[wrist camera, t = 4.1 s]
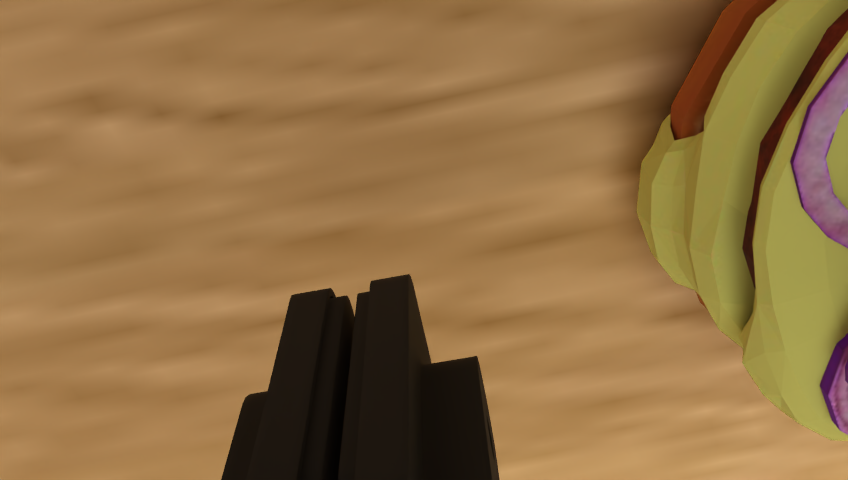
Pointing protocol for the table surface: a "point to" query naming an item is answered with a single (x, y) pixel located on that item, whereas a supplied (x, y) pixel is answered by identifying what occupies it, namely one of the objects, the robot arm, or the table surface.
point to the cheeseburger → (764, 198)
